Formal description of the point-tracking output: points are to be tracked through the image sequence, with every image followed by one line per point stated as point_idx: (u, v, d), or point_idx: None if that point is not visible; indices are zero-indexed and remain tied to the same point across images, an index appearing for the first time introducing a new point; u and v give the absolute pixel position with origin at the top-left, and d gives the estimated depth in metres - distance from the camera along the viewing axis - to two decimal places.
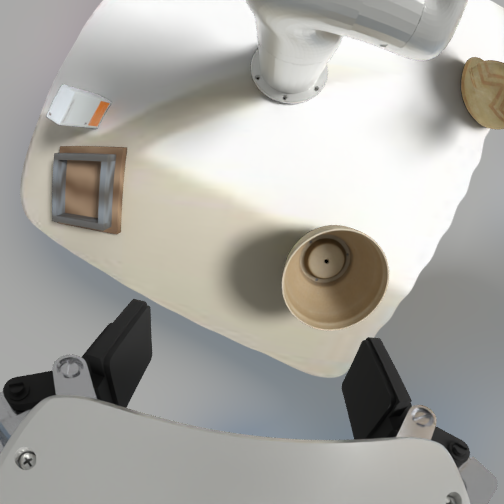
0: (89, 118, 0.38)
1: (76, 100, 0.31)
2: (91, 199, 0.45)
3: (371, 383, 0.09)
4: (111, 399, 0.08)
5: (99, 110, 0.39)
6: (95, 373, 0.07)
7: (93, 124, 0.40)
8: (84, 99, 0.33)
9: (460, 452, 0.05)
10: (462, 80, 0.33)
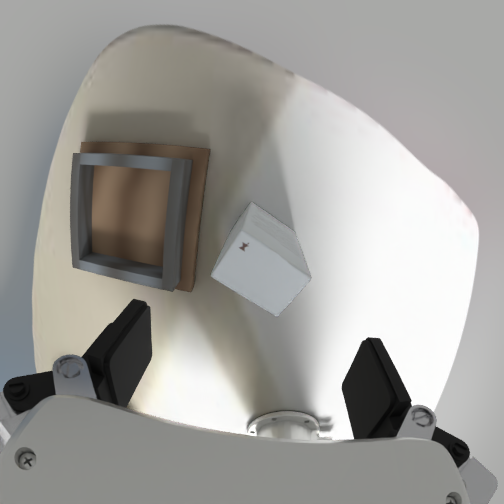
0: None
1: None
2: (114, 227, 0.29)
3: (371, 383, 0.09)
4: (111, 399, 0.08)
5: None
6: (95, 373, 0.07)
7: None
8: None
9: (460, 452, 0.05)
10: None
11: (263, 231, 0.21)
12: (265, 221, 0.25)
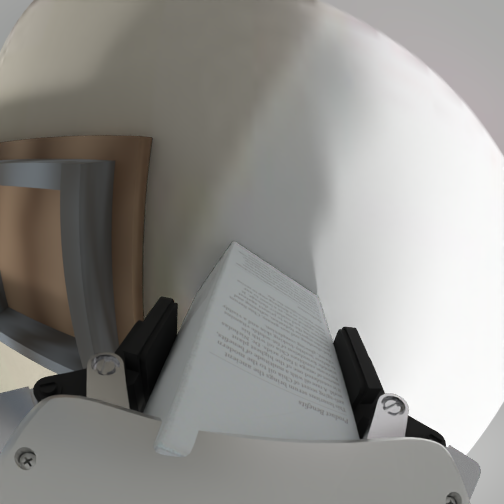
0: None
1: None
2: (22, 277, 0.15)
3: (344, 371, 0.09)
4: (143, 395, 0.08)
5: None
6: (129, 369, 0.08)
7: None
8: None
9: None
10: None
11: (250, 378, 0.07)
12: (260, 306, 0.10)
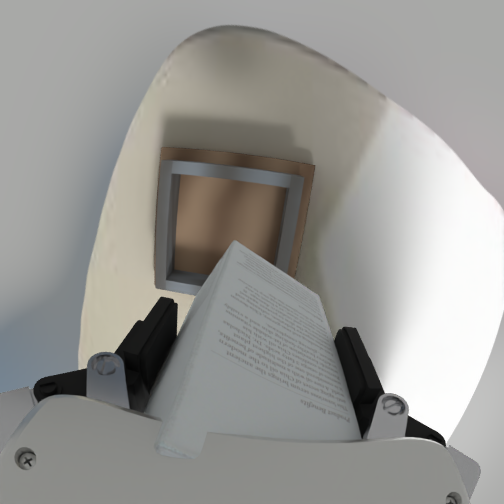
0: None
1: None
2: (205, 243, 0.30)
3: (344, 371, 0.09)
4: (143, 395, 0.08)
5: None
6: (129, 369, 0.08)
7: None
8: None
9: None
10: None
11: (252, 377, 0.07)
12: (261, 305, 0.10)
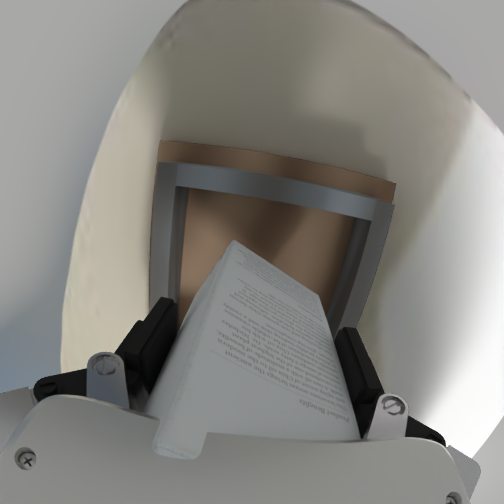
0: None
1: None
2: None
3: (344, 371, 0.09)
4: (143, 395, 0.08)
5: None
6: (129, 369, 0.08)
7: None
8: None
9: None
10: None
11: (251, 377, 0.06)
12: (260, 304, 0.10)
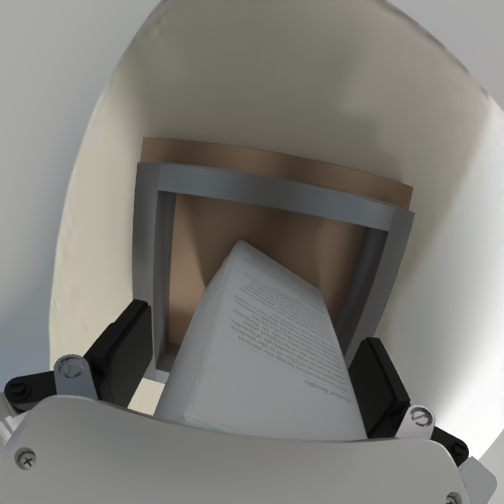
0: None
1: None
2: None
3: (370, 383, 0.09)
4: (112, 399, 0.08)
5: None
6: (96, 373, 0.07)
7: None
8: None
9: (459, 452, 0.05)
10: None
11: (262, 359, 0.07)
12: (267, 297, 0.11)
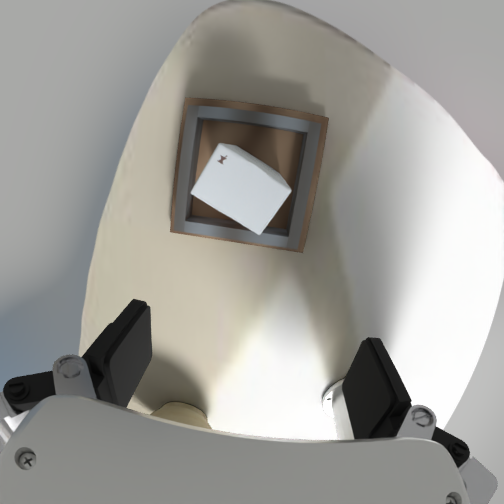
0: None
1: None
2: None
3: (371, 383, 0.09)
4: (111, 399, 0.08)
5: None
6: (95, 373, 0.07)
7: None
8: None
9: (460, 452, 0.05)
10: None
11: (243, 154, 0.20)
12: (247, 154, 0.24)
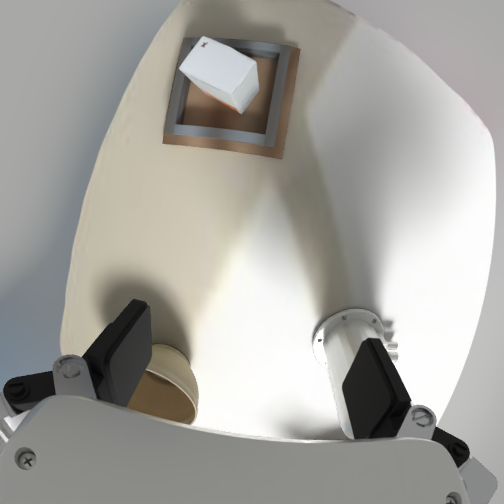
0: (209, 93, 0.28)
1: (220, 92, 0.22)
2: (211, 102, 0.32)
3: (371, 383, 0.09)
4: (111, 399, 0.08)
5: (224, 103, 0.29)
6: (95, 373, 0.07)
7: (206, 93, 0.30)
8: (227, 98, 0.24)
9: (460, 452, 0.05)
10: None
11: None
12: None
